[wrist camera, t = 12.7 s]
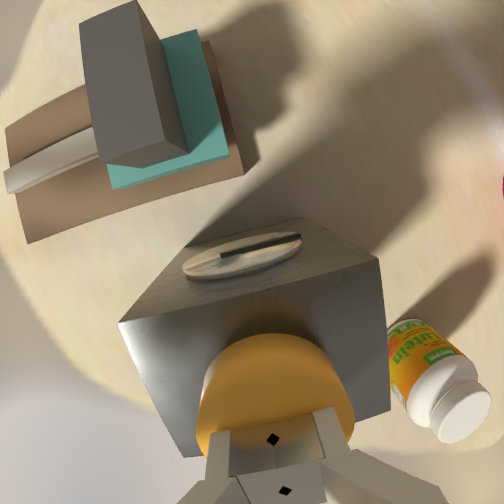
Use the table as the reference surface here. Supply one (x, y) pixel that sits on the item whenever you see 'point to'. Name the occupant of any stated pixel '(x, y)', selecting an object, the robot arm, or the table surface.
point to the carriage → (148, 98)
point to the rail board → (89, 166)
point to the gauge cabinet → (260, 315)
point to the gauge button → (269, 386)
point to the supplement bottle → (435, 381)
